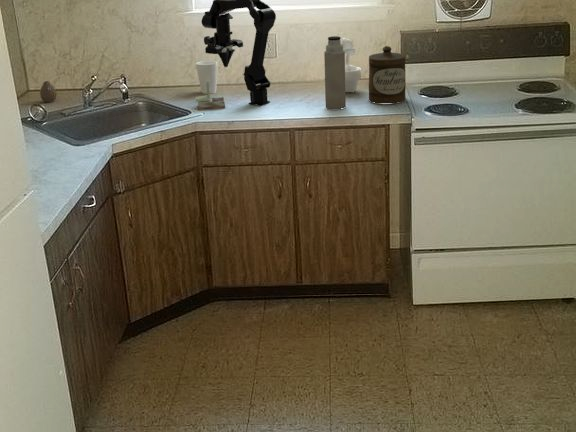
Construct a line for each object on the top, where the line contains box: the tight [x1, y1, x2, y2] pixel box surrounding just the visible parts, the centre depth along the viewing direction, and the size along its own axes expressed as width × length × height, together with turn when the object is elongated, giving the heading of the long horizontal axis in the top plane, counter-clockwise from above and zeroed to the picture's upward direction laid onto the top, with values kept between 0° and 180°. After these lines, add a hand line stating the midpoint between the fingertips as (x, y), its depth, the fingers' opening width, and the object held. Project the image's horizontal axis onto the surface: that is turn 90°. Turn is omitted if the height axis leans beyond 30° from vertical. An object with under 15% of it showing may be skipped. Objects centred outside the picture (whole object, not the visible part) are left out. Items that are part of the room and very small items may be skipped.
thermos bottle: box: [323, 35, 347, 110], centre depth 317 cm, size 8×8×28 cm
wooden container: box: [368, 45, 407, 104], centre depth 325 cm, size 15×15×22 cm
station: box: [197, 96, 226, 111], centre depth 331 cm, size 11×8×3 cm
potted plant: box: [337, 34, 362, 93], centre depth 341 cm, size 13×12×25 cm
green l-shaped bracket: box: [195, 80, 211, 103], centre depth 329 cm, size 6×6×8 cm
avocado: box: [39, 80, 58, 104], centre depth 351 cm, size 7×7×9 cm
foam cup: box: [195, 60, 219, 95], centre depth 354 cm, size 10×9×13 cm
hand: (225, 67), depth 341 cm, fingers closed
